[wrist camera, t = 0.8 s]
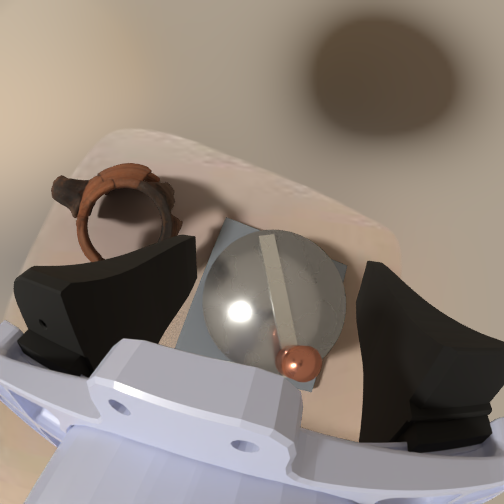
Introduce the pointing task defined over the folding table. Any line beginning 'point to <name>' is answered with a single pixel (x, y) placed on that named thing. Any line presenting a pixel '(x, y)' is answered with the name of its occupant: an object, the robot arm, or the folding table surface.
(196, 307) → the wheel base
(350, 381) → the folding table surface
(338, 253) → the folding table surface
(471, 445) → the robot arm
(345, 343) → the folding table surface
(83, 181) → the brown curved ring
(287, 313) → the handwheel
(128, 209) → the folding table surface
